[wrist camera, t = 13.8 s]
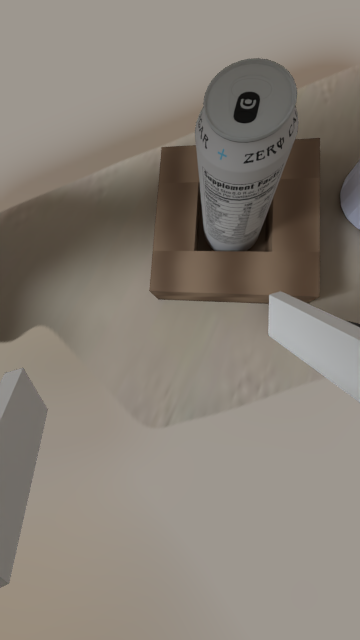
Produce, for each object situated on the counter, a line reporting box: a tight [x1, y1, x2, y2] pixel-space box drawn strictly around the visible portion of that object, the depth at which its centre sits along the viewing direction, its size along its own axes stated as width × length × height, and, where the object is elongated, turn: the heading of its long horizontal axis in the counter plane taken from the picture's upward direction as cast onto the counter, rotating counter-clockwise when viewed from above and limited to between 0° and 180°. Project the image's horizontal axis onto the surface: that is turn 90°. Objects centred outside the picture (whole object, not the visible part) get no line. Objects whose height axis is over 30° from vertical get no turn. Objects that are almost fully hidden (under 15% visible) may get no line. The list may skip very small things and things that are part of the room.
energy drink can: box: [195, 58, 298, 251], centre depth 20 cm, size 6×6×15 cm
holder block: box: [149, 138, 320, 304], centre depth 26 cm, size 16×16×4 cm
